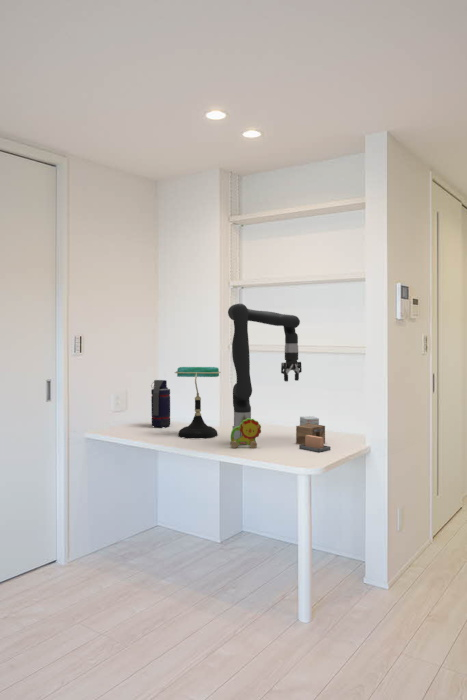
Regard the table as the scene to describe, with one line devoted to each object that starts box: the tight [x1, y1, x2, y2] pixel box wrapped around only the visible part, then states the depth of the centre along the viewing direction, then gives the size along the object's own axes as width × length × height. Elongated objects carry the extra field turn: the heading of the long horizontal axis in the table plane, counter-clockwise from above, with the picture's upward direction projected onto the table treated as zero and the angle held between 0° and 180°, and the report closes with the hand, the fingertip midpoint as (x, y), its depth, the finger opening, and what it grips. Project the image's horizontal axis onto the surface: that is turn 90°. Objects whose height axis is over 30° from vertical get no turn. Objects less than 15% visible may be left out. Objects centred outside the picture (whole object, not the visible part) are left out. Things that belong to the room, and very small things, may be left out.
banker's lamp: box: [174, 366, 221, 439], centre depth 335 cm, size 26×23×40 cm
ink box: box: [299, 415, 320, 426], centre depth 327 cm, size 9×9×12 cm
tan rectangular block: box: [305, 435, 325, 449], centre depth 294 cm, size 2×10×6 cm, turn 42°
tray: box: [298, 444, 331, 453], centre depth 293 cm, size 9×13×2 cm
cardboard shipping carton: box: [295, 424, 326, 445], centre depth 309 cm, size 12×10×10 cm
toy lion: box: [230, 418, 262, 449], centre depth 299 cm, size 16×5×15 cm, turn 90°
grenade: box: [150, 379, 171, 428], centre depth 367 cm, size 14×12×30 cm
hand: (291, 380), depth 318 cm, fingers open, 8 cm apart
